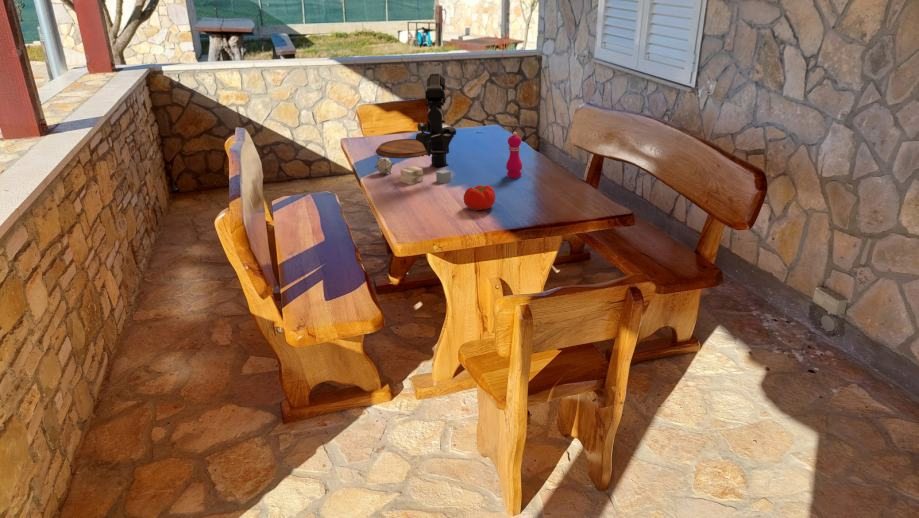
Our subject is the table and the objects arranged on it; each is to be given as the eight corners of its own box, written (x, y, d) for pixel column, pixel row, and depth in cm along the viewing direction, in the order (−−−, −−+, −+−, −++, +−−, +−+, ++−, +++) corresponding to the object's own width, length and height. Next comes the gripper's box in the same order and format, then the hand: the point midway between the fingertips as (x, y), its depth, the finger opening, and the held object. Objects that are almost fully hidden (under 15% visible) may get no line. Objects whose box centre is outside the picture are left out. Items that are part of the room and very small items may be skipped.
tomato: (472, 216, 239) (472, 194, 235) (459, 206, 249) (458, 185, 246) (502, 210, 243) (502, 189, 240) (488, 201, 254) (488, 180, 250)
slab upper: (413, 172, 284) (412, 165, 282) (423, 175, 279) (422, 169, 278) (400, 175, 279) (400, 169, 278) (410, 179, 275) (410, 172, 273)
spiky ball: (388, 182, 292) (389, 169, 283) (371, 175, 292) (372, 162, 283) (395, 168, 296) (397, 155, 288) (379, 161, 296) (380, 148, 288)
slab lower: (413, 178, 285) (413, 172, 284) (423, 182, 280) (422, 175, 279) (400, 182, 281) (400, 175, 279) (410, 185, 276) (410, 179, 275)
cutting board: (403, 140, 350) (403, 135, 349) (450, 147, 333) (449, 142, 332) (363, 153, 327) (363, 148, 326) (411, 162, 309) (410, 157, 308)
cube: (444, 179, 282) (443, 169, 280) (450, 181, 279) (450, 171, 277) (436, 181, 279) (436, 171, 277) (443, 183, 276) (442, 173, 274)
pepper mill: (524, 174, 285) (525, 130, 276) (518, 179, 279) (519, 134, 270) (509, 173, 288) (509, 129, 279) (503, 177, 282) (503, 133, 273)
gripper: (439, 111, 279) (440, 146, 285) (406, 118, 267) (408, 154, 274) (456, 115, 272) (457, 150, 278) (423, 122, 260) (425, 159, 266)
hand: (437, 153), depth 274 cm, fingers open, 9 cm apart
